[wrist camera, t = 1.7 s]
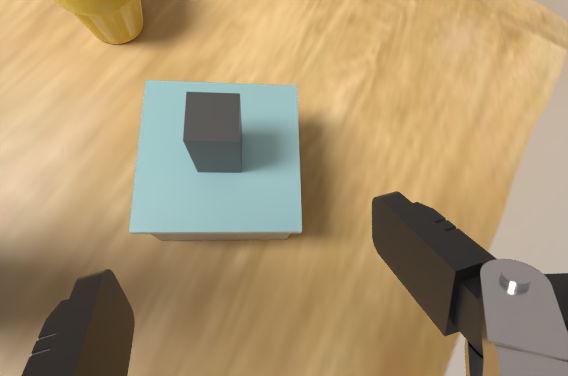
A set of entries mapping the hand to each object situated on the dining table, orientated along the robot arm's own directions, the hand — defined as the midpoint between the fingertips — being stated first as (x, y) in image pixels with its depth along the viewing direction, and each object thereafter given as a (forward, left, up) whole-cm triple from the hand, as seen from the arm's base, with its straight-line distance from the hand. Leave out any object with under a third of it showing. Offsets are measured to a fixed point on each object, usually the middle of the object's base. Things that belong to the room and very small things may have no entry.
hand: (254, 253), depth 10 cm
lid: (-3, +11, -20) cm, 23 cm away
